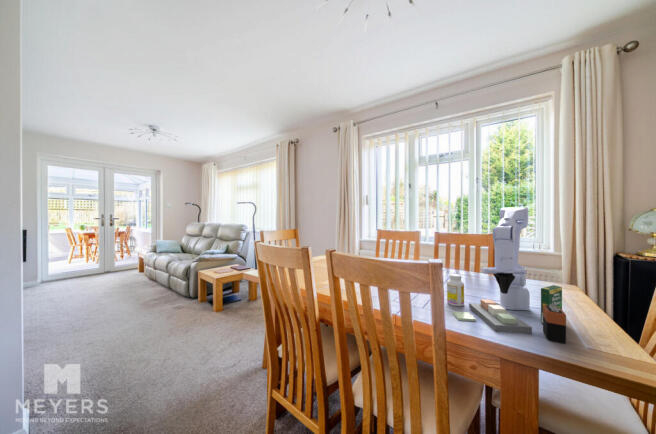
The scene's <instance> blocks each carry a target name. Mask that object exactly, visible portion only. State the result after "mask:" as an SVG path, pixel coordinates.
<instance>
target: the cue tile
mask: <svg viewBox="0 0 656 434" xmlns="http://www.w3.org/2000/svg"><path fill="white" fill-rule="evenodd" d="M452 315H453V316H454V317H455V319H457V320H458V321H464V322H465V321H468V322H477V318H475V316H473V315H472V314H471V312H469V311H467V312H465V311H452Z"/></svg>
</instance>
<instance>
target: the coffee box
mask: <svg viewBox="0 0 656 434" xmlns="http://www.w3.org/2000/svg"><path fill="white" fill-rule="evenodd" d="M549 304H553V305H556V307H559V308H561V309H562V310H563V287H562V286H559V285H554V284H552V285H549V286H545V287H540V324H542V325H543V305H547V306H549Z"/></svg>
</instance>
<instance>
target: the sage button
mask: <svg viewBox="0 0 656 434" xmlns="http://www.w3.org/2000/svg"><path fill="white" fill-rule="evenodd" d="M497 319H498V320H499V321H500V322H501V323H503V324H516V318H514V317H513V316H511V315H510V314H498V313H497Z"/></svg>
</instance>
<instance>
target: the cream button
mask: <svg viewBox="0 0 656 434" xmlns="http://www.w3.org/2000/svg"><path fill="white" fill-rule="evenodd" d="M506 310H507V309H505V308H503V307H502V306H500V305H499V304H497V305H488V312H489V313H490V314H491V315H492V316H497V313H498V314H506Z"/></svg>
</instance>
